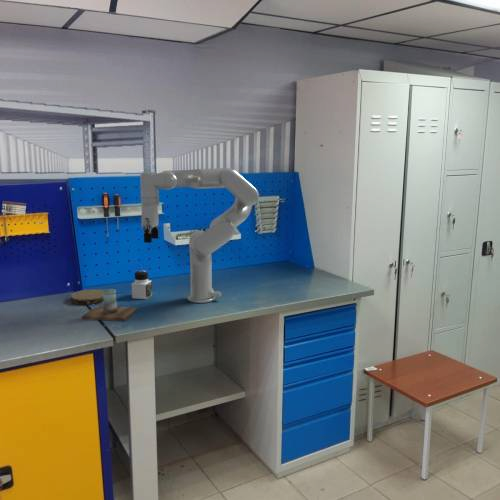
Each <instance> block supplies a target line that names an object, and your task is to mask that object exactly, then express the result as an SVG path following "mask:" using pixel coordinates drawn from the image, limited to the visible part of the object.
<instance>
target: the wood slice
mask: <svg viewBox="0 0 500 500" xmlns="http://www.w3.org/2000/svg"><path fill="white" fill-rule="evenodd" d="M103 290H104V289H94V288H93V289H82V290H79V291H75V292H73V293H71V295H70V302H71V304H73V305H77V306H93V305H92V304H95V305H99V303H100V304H102V302H104V300H103V292H102V291H103Z"/></svg>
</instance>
